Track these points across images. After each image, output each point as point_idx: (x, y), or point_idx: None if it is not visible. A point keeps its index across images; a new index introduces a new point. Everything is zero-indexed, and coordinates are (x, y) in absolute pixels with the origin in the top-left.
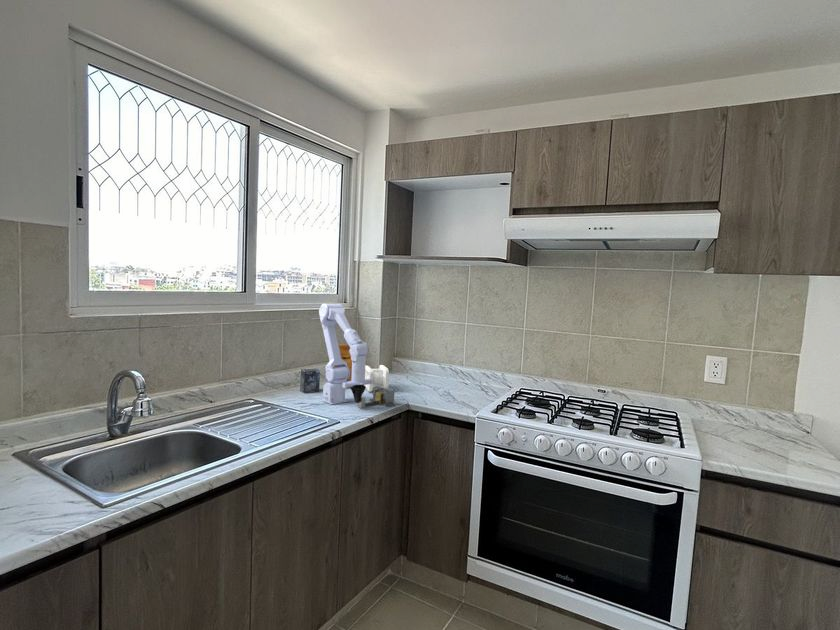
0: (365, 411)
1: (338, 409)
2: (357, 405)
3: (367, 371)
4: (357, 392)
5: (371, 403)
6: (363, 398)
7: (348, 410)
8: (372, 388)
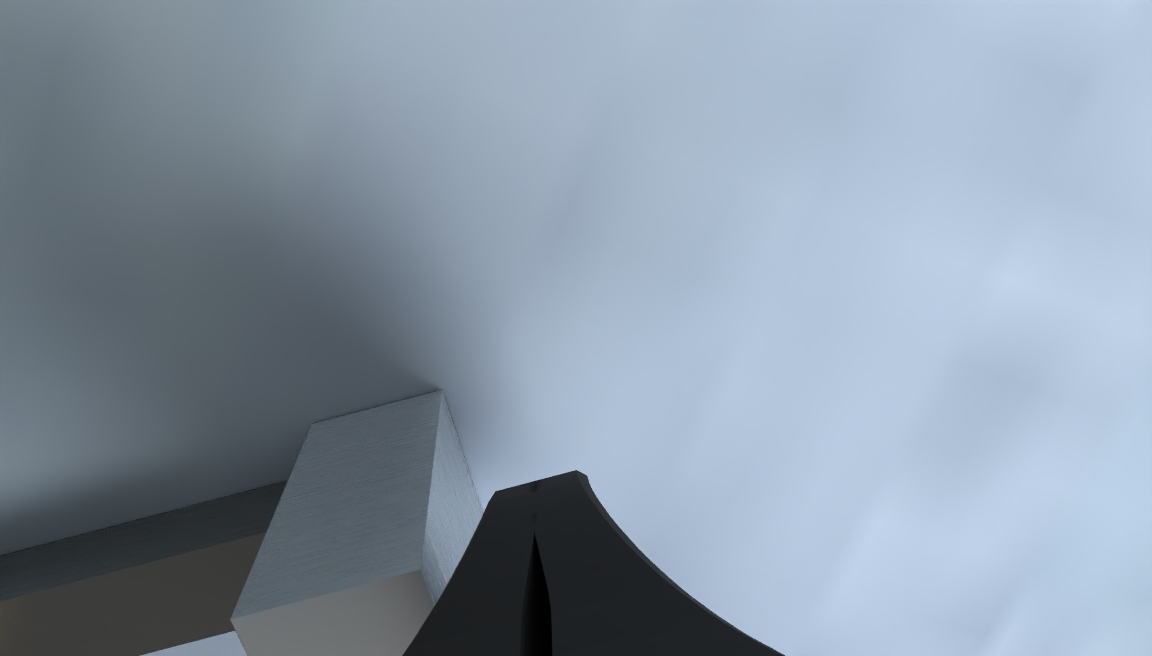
0: (432, 50)
1: (1036, 466)
2: None
3: None
4: (747, 654)
5: (43, 577)
6: (338, 571)
7: (854, 311)
8: None
